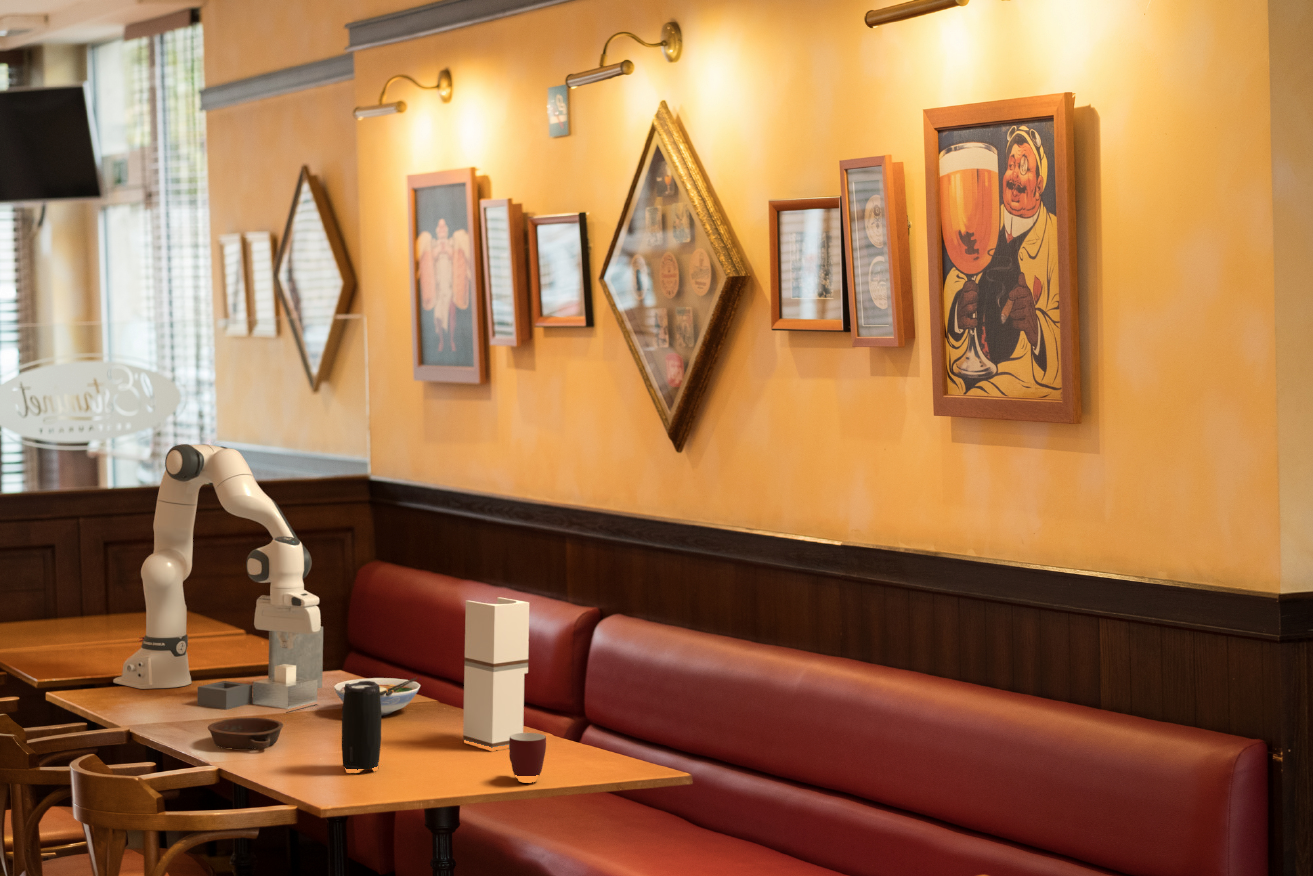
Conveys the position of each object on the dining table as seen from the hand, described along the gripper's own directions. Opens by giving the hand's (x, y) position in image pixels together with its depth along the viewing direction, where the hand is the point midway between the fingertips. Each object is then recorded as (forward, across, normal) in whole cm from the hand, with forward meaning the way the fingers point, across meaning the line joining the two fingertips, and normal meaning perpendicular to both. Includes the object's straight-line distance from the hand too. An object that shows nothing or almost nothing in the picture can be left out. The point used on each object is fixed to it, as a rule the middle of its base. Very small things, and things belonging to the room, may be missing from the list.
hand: (286, 648), depth 401 cm
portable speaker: (+16, +60, -45) cm, 77 cm away
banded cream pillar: (+16, +72, -8) cm, 74 cm away
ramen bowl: (+16, +26, +6) cm, 31 cm away
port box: (+16, 0, 0) cm, 16 cm away
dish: (+16, +21, -39) cm, 47 cm away
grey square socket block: (+16, -12, -10) cm, 22 cm away
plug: (+15, 0, 0) cm, 15 cm away
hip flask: (+16, -13, +20) cm, 29 cm away
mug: (+16, +96, -34) cm, 103 cm away
